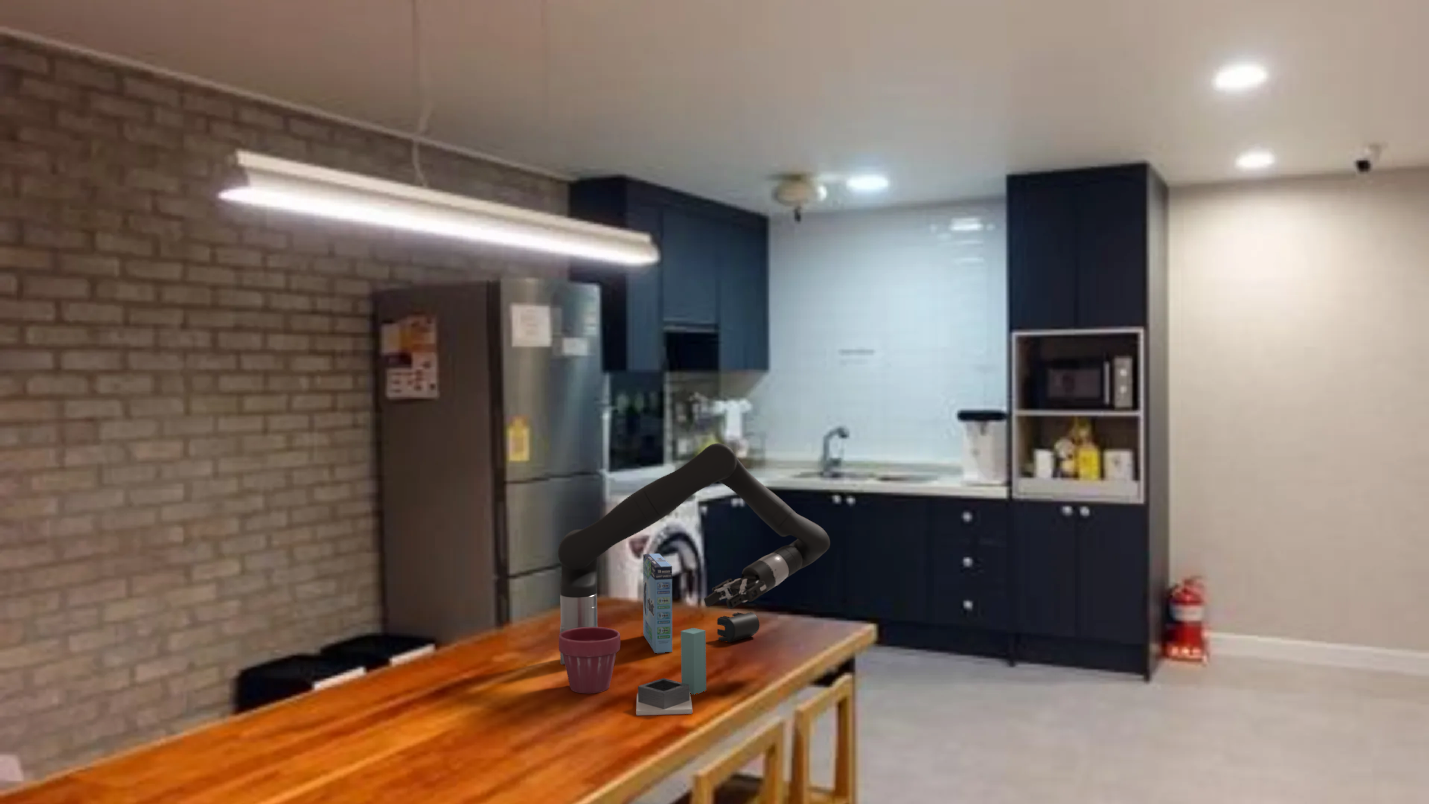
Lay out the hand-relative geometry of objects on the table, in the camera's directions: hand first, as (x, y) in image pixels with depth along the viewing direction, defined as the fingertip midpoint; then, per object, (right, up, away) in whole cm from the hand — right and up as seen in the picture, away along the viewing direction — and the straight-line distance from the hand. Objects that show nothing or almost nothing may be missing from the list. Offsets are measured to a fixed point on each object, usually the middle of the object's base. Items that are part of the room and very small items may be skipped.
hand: (716, 604), depth 249 cm
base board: (-12, -20, -14) cm, 27 cm away
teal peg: (-5, -19, -3) cm, 20 cm away
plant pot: (-30, -20, 0) cm, 36 cm away
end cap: (+6, -18, +43) cm, 47 cm away
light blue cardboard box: (-16, -18, +39) cm, 46 cm away
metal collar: (-12, -20, -14) cm, 27 cm away
